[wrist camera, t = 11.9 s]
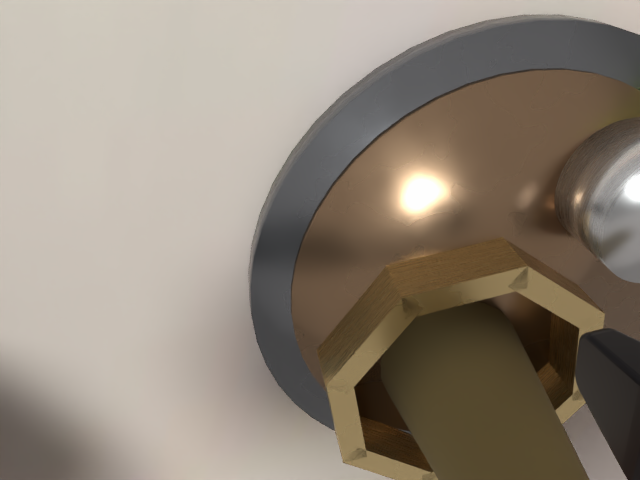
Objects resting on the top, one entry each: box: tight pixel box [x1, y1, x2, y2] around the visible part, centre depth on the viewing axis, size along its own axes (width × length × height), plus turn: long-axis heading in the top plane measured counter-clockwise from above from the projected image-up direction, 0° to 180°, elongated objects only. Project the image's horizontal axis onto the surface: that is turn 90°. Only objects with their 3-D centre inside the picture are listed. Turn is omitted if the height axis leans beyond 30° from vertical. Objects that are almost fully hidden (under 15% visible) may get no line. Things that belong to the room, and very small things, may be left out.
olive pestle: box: [381, 302, 589, 480], centre depth 20 cm, size 6×6×11 cm
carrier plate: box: [249, 15, 640, 480], centre depth 22 cm, size 20×20×4 cm
